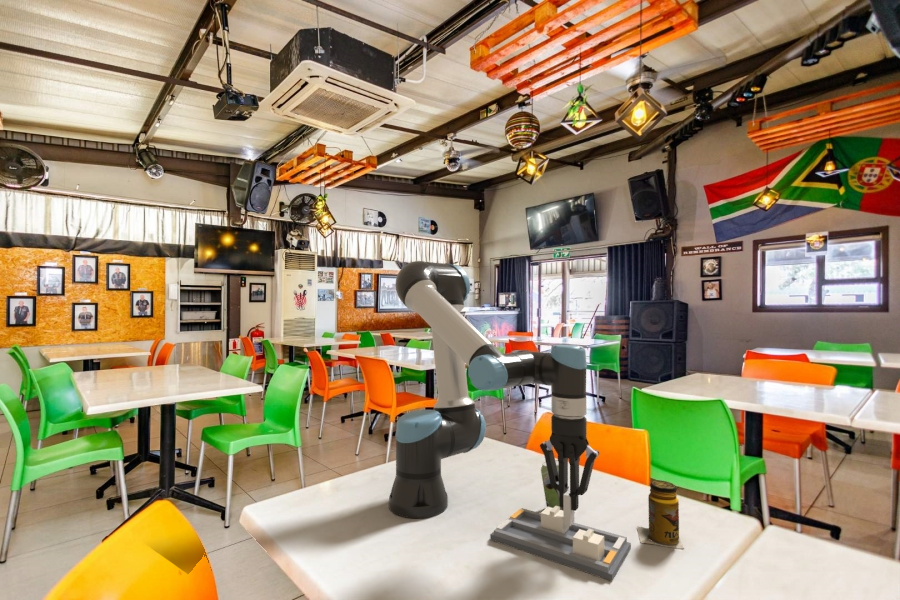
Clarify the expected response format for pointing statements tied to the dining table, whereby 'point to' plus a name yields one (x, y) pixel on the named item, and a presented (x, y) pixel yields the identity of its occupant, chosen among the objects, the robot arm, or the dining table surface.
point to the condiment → (662, 516)
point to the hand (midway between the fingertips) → (568, 523)
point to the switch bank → (560, 544)
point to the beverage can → (550, 492)
